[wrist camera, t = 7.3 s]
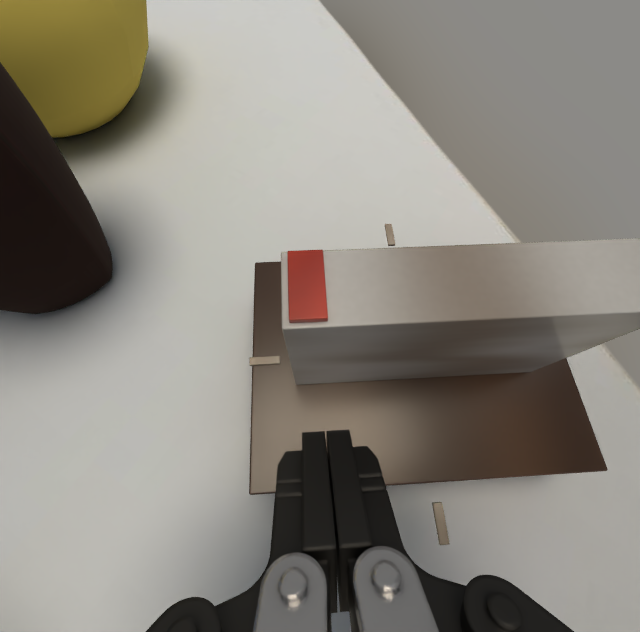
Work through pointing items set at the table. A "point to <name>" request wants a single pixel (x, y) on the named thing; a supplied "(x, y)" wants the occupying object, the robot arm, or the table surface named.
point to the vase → (74, 58)
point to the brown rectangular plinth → (416, 415)
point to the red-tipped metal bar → (454, 307)
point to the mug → (42, 217)
